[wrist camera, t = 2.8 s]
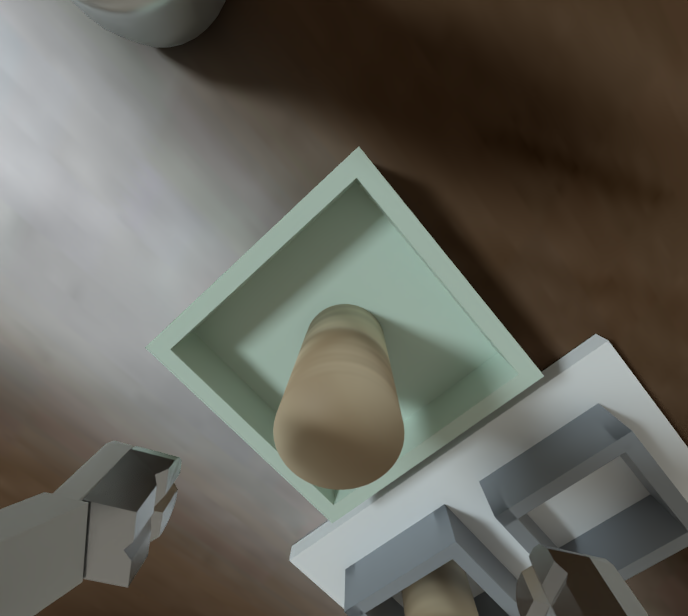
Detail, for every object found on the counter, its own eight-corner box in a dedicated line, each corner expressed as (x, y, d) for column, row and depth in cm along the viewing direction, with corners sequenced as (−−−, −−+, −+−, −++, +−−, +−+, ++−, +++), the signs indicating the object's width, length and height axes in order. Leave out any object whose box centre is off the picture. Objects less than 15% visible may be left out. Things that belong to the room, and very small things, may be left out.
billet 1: (341, 392, 20) (333, 510, 12) (289, 338, 19) (246, 428, 11) (400, 345, 19) (431, 442, 11) (348, 287, 18) (344, 348, 11)
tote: (335, 475, 23) (332, 523, 19) (180, 323, 20) (145, 347, 17) (512, 347, 20) (544, 376, 17) (358, 157, 18) (358, 146, 14)
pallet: (418, 659, 26) (428, 726, 23) (292, 546, 24) (281, 601, 21) (714, 492, 22) (779, 544, 19) (595, 333, 20) (645, 360, 16)
